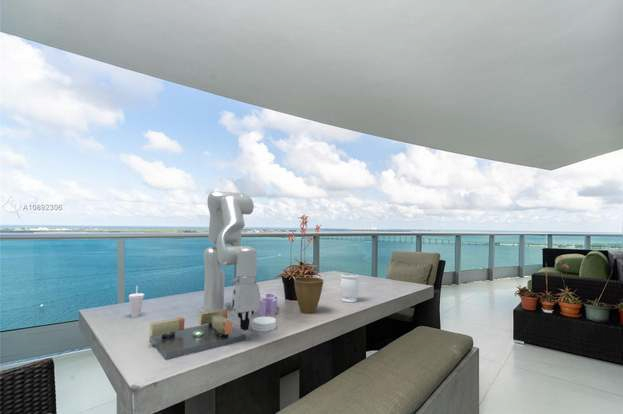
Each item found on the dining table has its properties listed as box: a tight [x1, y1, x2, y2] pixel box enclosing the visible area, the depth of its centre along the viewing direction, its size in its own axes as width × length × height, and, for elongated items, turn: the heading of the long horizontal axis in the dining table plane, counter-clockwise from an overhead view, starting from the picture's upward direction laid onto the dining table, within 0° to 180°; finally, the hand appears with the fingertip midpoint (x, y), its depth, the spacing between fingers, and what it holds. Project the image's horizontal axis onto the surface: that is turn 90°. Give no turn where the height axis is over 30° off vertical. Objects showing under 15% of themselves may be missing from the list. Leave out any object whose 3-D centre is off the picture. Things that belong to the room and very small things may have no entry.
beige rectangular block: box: [197, 309, 229, 327], centre depth 126 cm, size 11×4×5 cm, turn 131°
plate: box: [149, 324, 247, 360], centre depth 115 cm, size 20×28×3 cm
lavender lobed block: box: [256, 292, 278, 317], centre depth 157 cm, size 20×12×7 cm, turn 18°
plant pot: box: [293, 276, 324, 314], centre depth 158 cm, size 15×15×16 cm
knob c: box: [212, 315, 234, 336], centre depth 116 cm, size 11×4×5 cm, turn 41°
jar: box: [340, 273, 360, 303], centre depth 182 cm, size 11×10×15 cm
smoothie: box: [128, 285, 145, 318], centre depth 143 cm, size 6×6×14 cm
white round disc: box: [251, 316, 277, 333], centre depth 131 cm, size 10×10×4 cm
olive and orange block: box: [149, 316, 186, 338], centre depth 113 cm, size 11×4×5 cm, turn 133°
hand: (244, 329), depth 118 cm, fingers closed
